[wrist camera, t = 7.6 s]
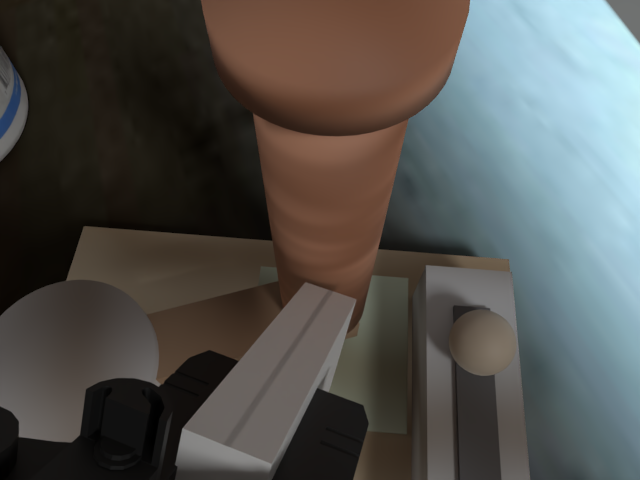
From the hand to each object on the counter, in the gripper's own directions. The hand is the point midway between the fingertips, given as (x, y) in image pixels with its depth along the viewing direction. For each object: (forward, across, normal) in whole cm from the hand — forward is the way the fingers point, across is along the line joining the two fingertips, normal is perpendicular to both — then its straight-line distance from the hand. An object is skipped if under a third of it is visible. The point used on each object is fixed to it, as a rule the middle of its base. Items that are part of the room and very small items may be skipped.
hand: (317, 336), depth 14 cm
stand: (+5, +1, +7) cm, 9 cm away
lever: (+4, +5, +4) cm, 8 cm away
